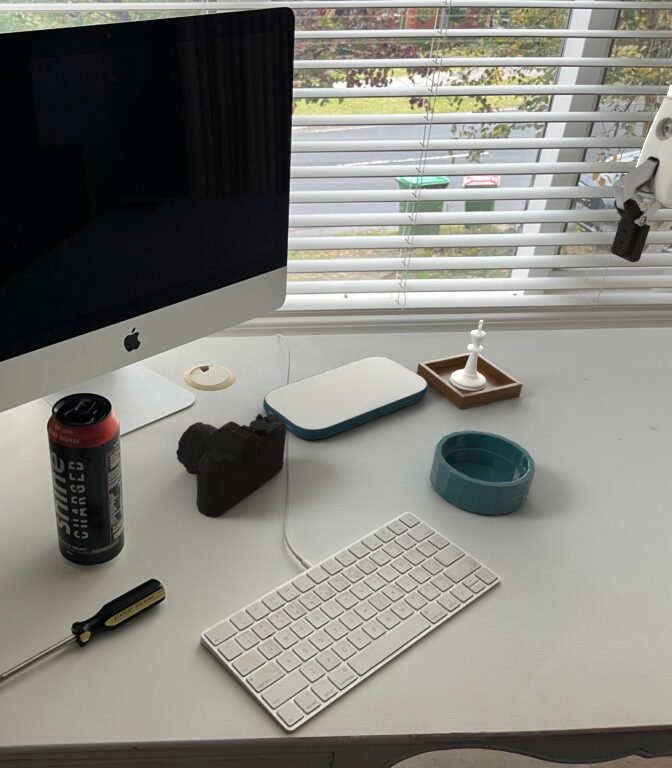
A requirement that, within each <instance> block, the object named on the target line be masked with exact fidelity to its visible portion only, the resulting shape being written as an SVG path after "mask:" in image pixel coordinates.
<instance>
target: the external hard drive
mask: <svg viewBox="0 0 672 768" xmlns="http://www.w3.org/2000/svg"><path fill="white" fill-rule="evenodd" d="M428 389H429V384H428V383H427V382H426V380H425V379H424V378H423V377H421V376H420V375H418V374H417V372H415V371H413V370H411V369H409V368H407V367H406V366H404V365H402V364H401V363H399V362H397V361H395V360H393V359H391V358H388V357H385V356H376V355H375V356H368V357H363V358H360V359H357V360H354V361H351V362H348V363H345V364H342V365H340V366H337V367H334V368H331V369H328V370H326V371H322V372H320V373H317V374H313V375H310V376H307V377H305V378H302V379H299V380H296V381H294V382H291V383H288V384H285V385H282V386H278V387H277V388H274V389H272V390H270V391H269V392H267V393H266V394H265V396H263V397H264V398H263V401H262V407H263V411H264V412H265V413H266V414H267V415H269V414H274V415H277V416H278V418H279V419H281V420H282V421H284V422H285V424H286V430H287V431H288V432H290V433H291V434H292V435H294V436H296V437H298V438H300V439H304V440H320V439H321V440H322V439H325V438H328V437H331V436H333V435H336V434H338V433H339V434H340V433H341V432H344V431H347V430H349V429H352V428H355V427H356V426H359V425H362V424H364V423H367V422H369V421H372V420H374V419H377V418H379V417H382V416H384V415H386V414H389V413H393V412H394V411H397V410H400V409H402V408H405V407H408V406H409V405H413V404H415V403H417V402H419V401H421V400H422V399H424V397H426V395H427V392H428Z"/></svg>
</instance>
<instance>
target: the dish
mask: <svg viewBox="0 0 672 768" xmlns="http://www.w3.org/2000/svg"><path fill="white" fill-rule="evenodd" d="M535 472H536V464H535V460H534V458H533V457H532V455H531V454H530V453H529V451H528V450H527V449H525V448H524V447H523V446H522V445H520V444H519V443H517V442H516V441H513V440H512V439H509V438H507V437H505V436H503V435H500V434H496V433H493V432H489V431H483V430H474V429H473V430H472V429H467V430H458V431H453V432H450V433H447V434H445V435H443V436H441V438H439V440H438V441H437V442H436V444H435V448H434V453H433V458H432V463H431V466H430V472H429V481H430V484H431V485H432V488H433V490H434V491H435V492H437V494H438V495H439V496H440V497H442V499H444V500H445V501H447V502H448V503H449V504H451V505H453V506H454V507H456V508H459V509H461V510H463V511H467V512H471V513H473V514H474V513H475V514H479V515H487V516H488V515H489V516H491V515H493V516H495V515H502V514H510V513H512V512H514V511H516V510H519V508H521V507H522V506H523V505H524V503H525V502H526V501H527V499H528V496H529V493H530V490H531V486H532V483H533V480H534V477H535Z"/></svg>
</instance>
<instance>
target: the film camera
mask: <svg viewBox="0 0 672 768" xmlns="http://www.w3.org/2000/svg"><path fill="white" fill-rule="evenodd" d="M287 431H288V430H287V429H286V424H285V422H284V421H282V420H281V419H279V418H278V416H277V415H274V414H269V415H268V414H267V415H266V416H263V414H262V413H258V414H257V415H256V416H255V420H252V421H250V423H249V425H245V424H243V425H240V424H238V423H237V422H235V421H232V420H231V421H228V422H226V423H224V424H223V425H221V426H220V427H219V428H217V427H216V426H213V425H211V424H209V423H204V422H201V421H197V422H195V423H193V424H191V425H189V426H188V428H186V430H185V431H184V432H183V433H182V434H181V436H180V438H179V441H178V442H177V446H178V447H177V450H176V456H177V457H176V458H177V460H178V462H179V463H180V464H181V465H182V466H183V467H184V468H185V471H186V472H187V473H188V474H189V475H196V502H195V504H196V507H197V510H198V512H199V513H200V514H202V515H204V516H206V517H210V518H214V517H215V518H216V517H219V516H221V515H222V514H225V512H227V511H229V510H231V509H232V508H234V507H235V506H236V505H238V504H239V503H240V502H241V501H243V500H244V499H246V498H247V497H248V496H250V495H252V494H253V493H254V492H256V491H257V490H258V489H260V488H261V487H262V486H264V485H265V484H267V483H268V482H269V481H270V480H272V478H274V477H276V475H278V474H279V473H280V472H281V471H282V470H283V468H284V463H285V462H284V458H285V450H286V448H285V447H286V439H287V437H286V436H287Z"/></svg>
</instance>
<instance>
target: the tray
mask: <svg viewBox="0 0 672 768" xmlns="http://www.w3.org/2000/svg"><path fill="white" fill-rule="evenodd" d="M470 353H471V351H470V352H466V353H460V354H456V355H452V356H445V357H441V358H436V359H431V360H427V361H422V362H418V364H417V369H416V374H418V375H420V376H421V377H423V378H424V379H425V380H426V382H427V385H428V386H430V387H431V388H433V390H435V391H436V392H438V393H439V394H440V395H441V396H442V397H444V398H445V399H446V400H447V401H448V402H450V403H451V404H453V405H454V406H455V407H456V408H457V409H458V410H464V409H468V408H473V407H477V406H481V405H485V404H490V403H495V402H498V401H504V400H507V399H512V398H516V397H520V396H521V392H522V388H523V386H524V384H523V383H522V382H521V381H519V380H518V379H517V378H515V377H513V376H512V375H511V374H510V373H507V372H506V371H505V370H503V369H502V368H500V367H499V366H498V365H496V364H494V363H493V362H492V361H490V360H489V359H488V358H486V357H484V355H481V353H480V352H479V353H478V358H477V372H478V373H480V374H481V375H483V376H484V377H485V379H486V386H485V388H483V389H481V390H478V391H468V390H463V389H460V388H458V387H456V386H454V385H453V384H452V383H451V381H450V378H451V375H452V373H453V372H455V371H457V370H463V369H465V367H466V364H467V361H468V359H469V356H470Z"/></svg>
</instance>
